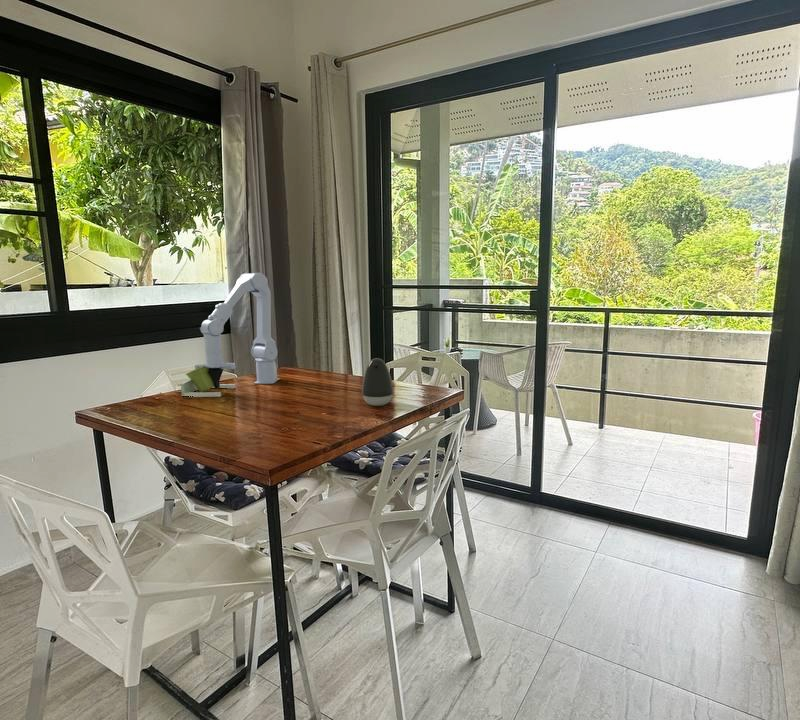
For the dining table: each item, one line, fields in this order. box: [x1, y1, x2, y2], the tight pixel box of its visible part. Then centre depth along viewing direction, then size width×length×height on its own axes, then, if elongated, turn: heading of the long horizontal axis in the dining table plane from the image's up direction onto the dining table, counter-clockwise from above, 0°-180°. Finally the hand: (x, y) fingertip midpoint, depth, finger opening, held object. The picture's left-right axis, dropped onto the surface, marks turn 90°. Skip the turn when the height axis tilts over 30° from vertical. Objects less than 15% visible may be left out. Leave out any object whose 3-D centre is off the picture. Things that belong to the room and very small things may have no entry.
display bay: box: [180, 378, 236, 398], centre depth 190 cm, size 15×14×5 cm
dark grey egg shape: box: [361, 357, 394, 407], centre depth 166 cm, size 10×10×15 cm
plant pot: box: [185, 365, 214, 392], centre depth 190 cm, size 9×9×9 cm
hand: (217, 388), depth 190 cm, fingers closed, pressing on plant pot
